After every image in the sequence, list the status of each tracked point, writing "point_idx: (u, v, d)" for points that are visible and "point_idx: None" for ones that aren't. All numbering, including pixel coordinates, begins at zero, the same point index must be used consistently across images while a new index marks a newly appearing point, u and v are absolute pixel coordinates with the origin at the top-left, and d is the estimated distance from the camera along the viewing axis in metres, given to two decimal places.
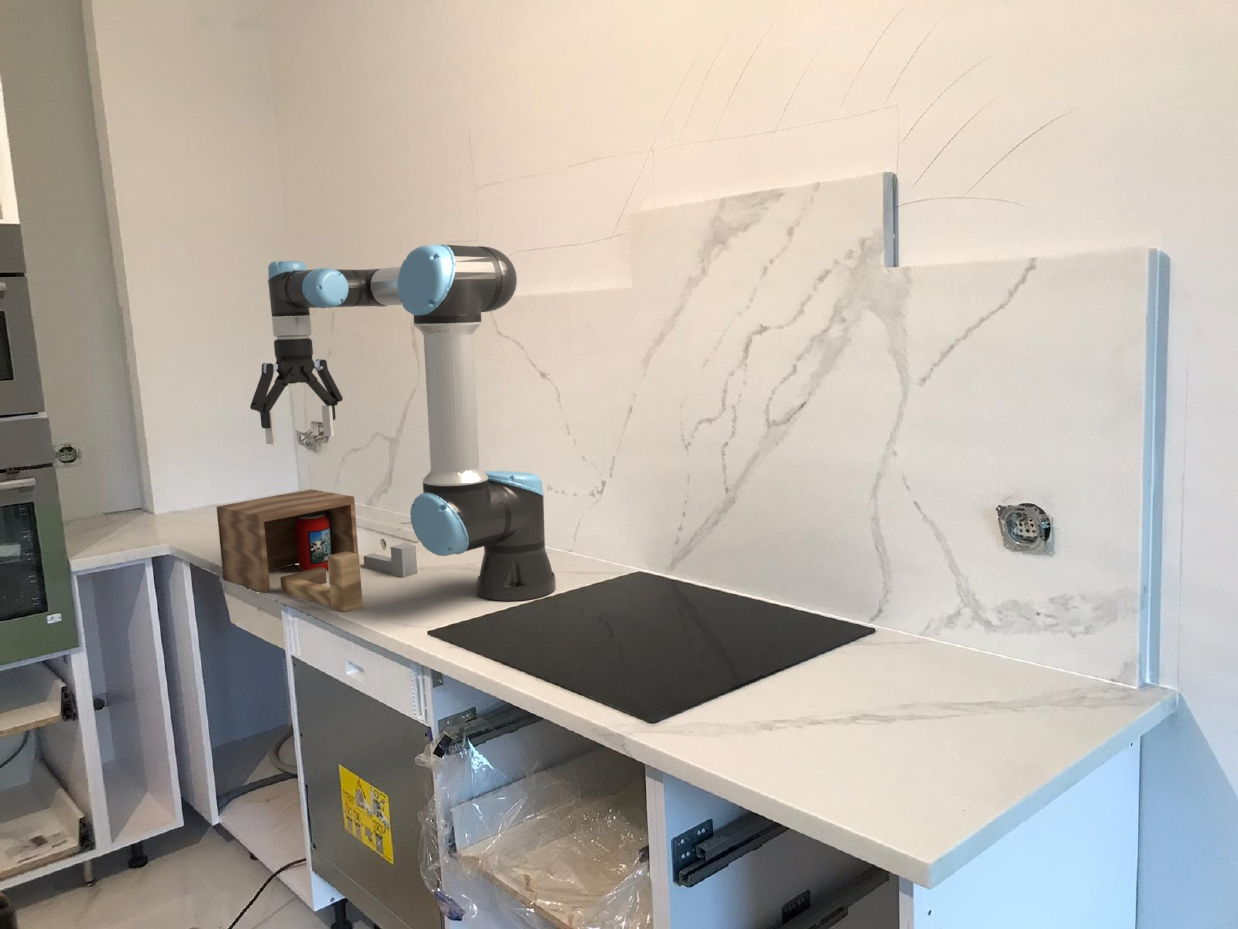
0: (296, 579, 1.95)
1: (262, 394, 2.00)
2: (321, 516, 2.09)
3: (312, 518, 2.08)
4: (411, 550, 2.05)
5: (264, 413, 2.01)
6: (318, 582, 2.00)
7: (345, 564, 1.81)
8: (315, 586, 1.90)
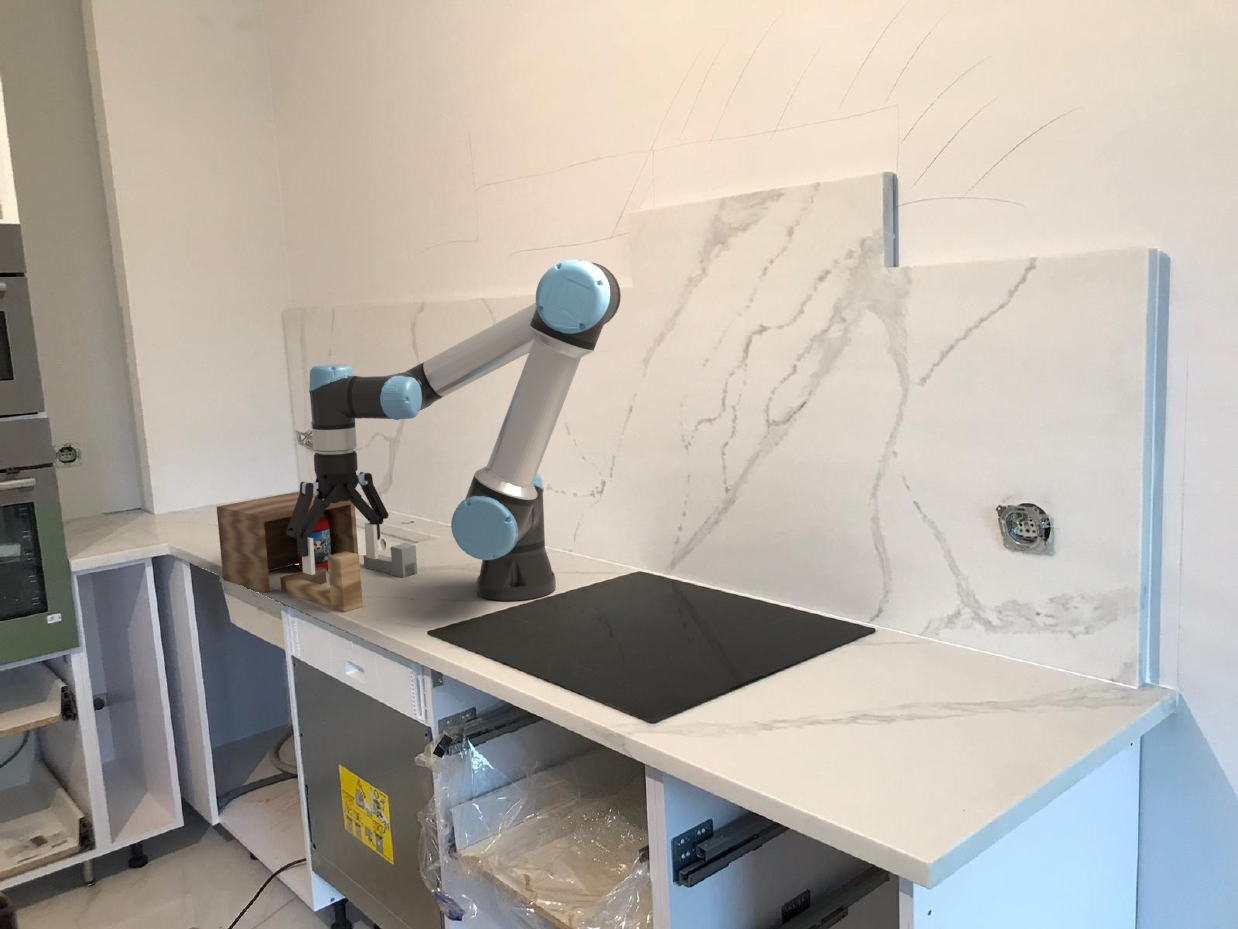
0: (296, 579, 1.95)
1: (300, 519, 1.74)
2: (321, 516, 2.09)
3: None
4: (412, 549, 2.05)
5: (302, 540, 1.75)
6: (318, 582, 2.00)
7: (345, 564, 1.81)
8: (315, 586, 1.90)
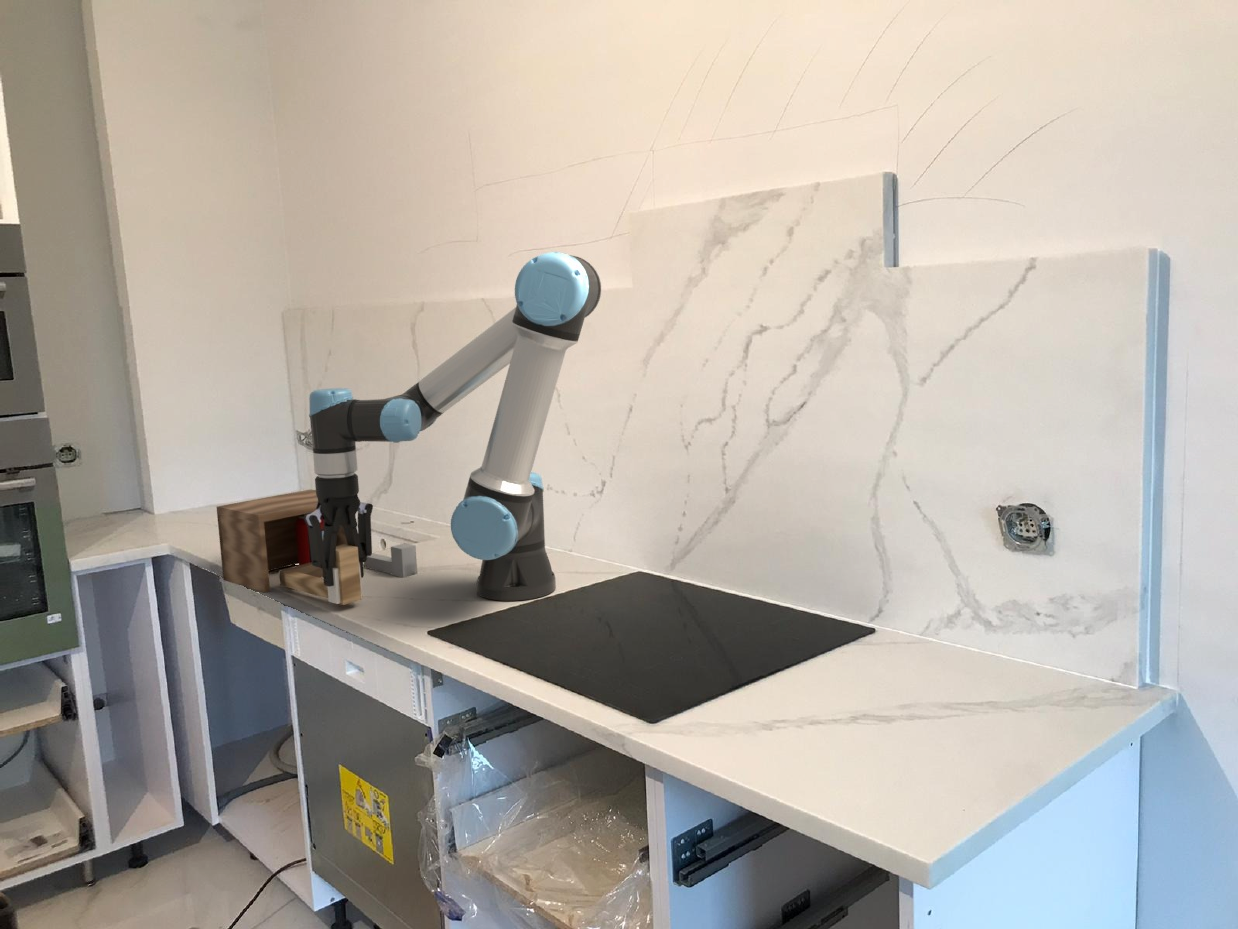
0: (295, 572, 1.95)
1: (319, 550, 1.78)
2: None
3: None
4: (412, 549, 2.05)
5: (327, 570, 1.80)
6: (317, 575, 2.00)
7: (344, 557, 1.81)
8: (314, 579, 1.90)
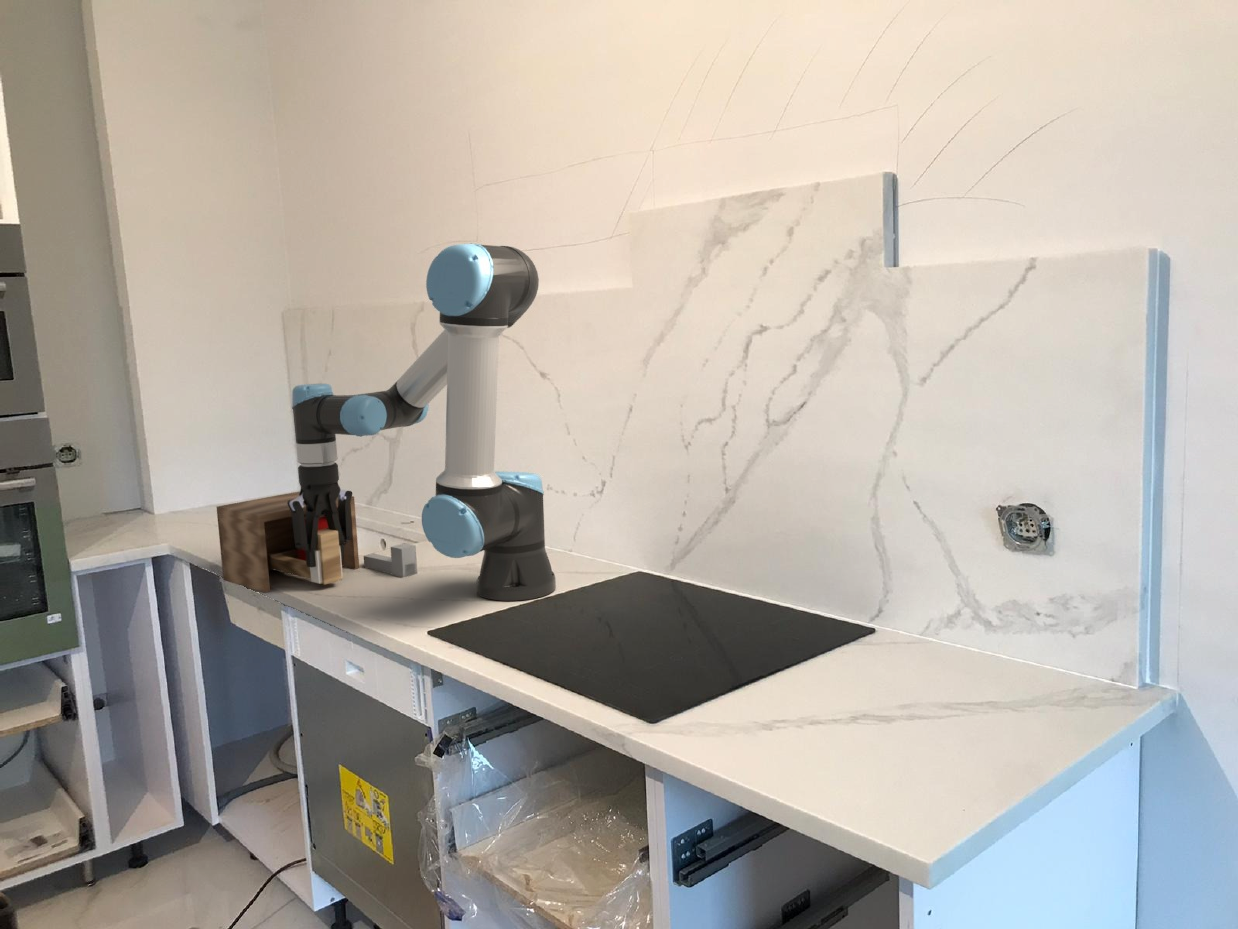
0: (280, 556, 2.10)
1: (302, 534, 1.92)
2: (321, 516, 2.09)
3: None
4: (411, 550, 2.05)
5: (310, 552, 1.94)
6: None
7: (325, 540, 1.95)
8: (298, 561, 2.04)
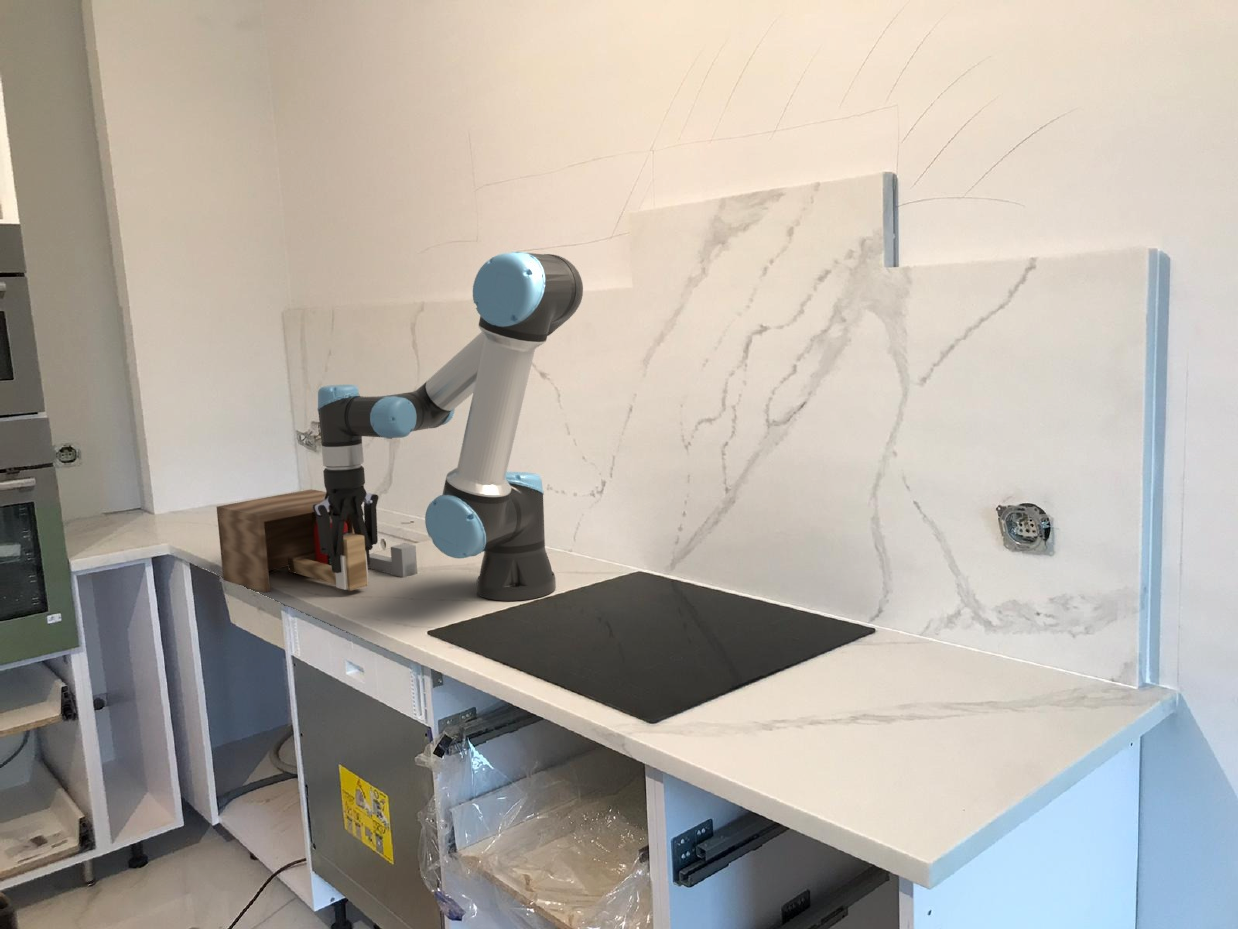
0: (303, 559, 2.05)
1: (327, 539, 1.87)
2: None
3: (330, 522, 2.03)
4: (411, 550, 2.05)
5: (335, 557, 1.90)
6: None
7: (351, 545, 1.90)
8: (322, 566, 1.99)
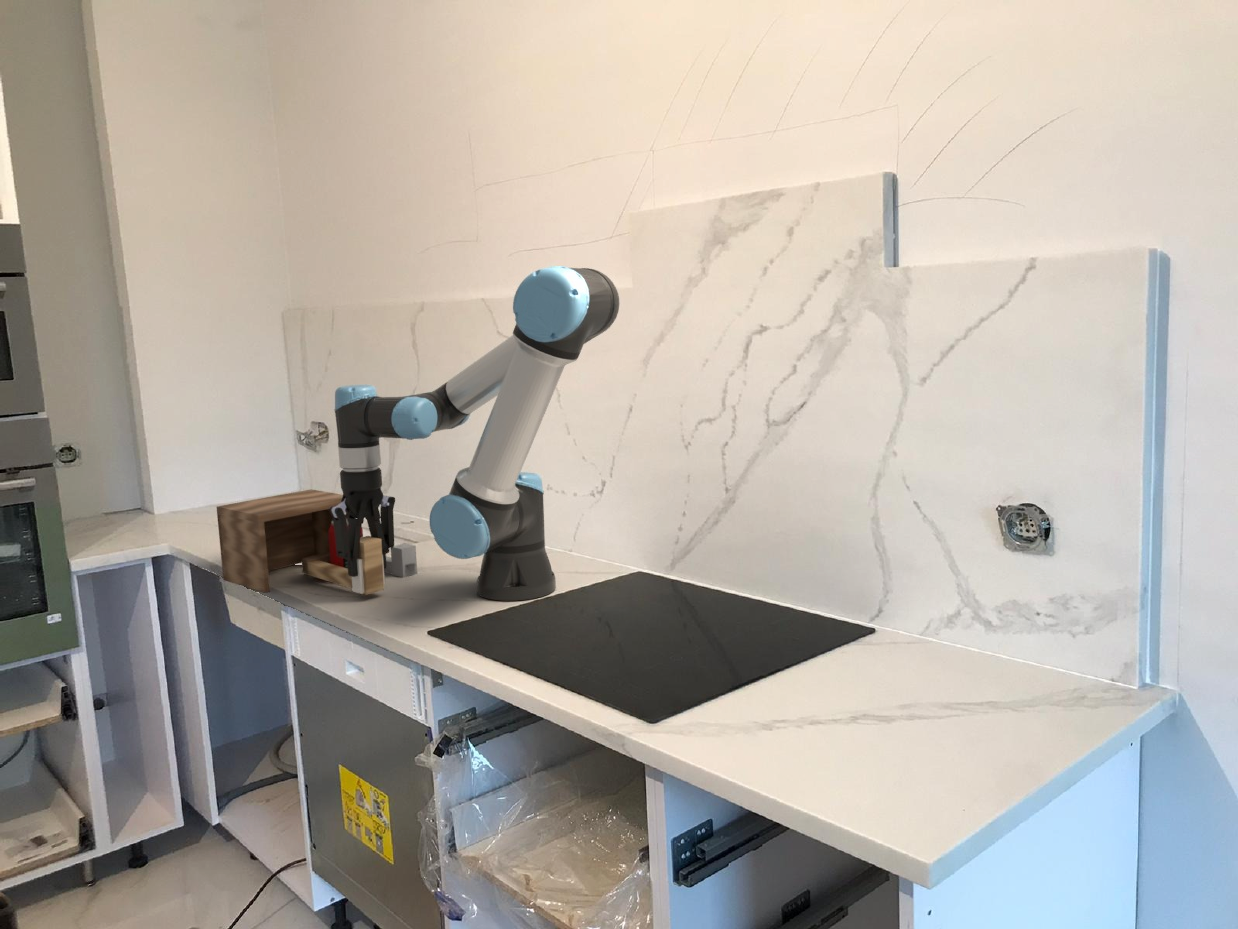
0: (317, 561, 2.01)
1: (344, 542, 1.84)
2: None
3: None
4: (411, 549, 2.05)
5: (352, 561, 1.86)
6: None
7: (368, 548, 1.87)
8: (337, 568, 1.96)
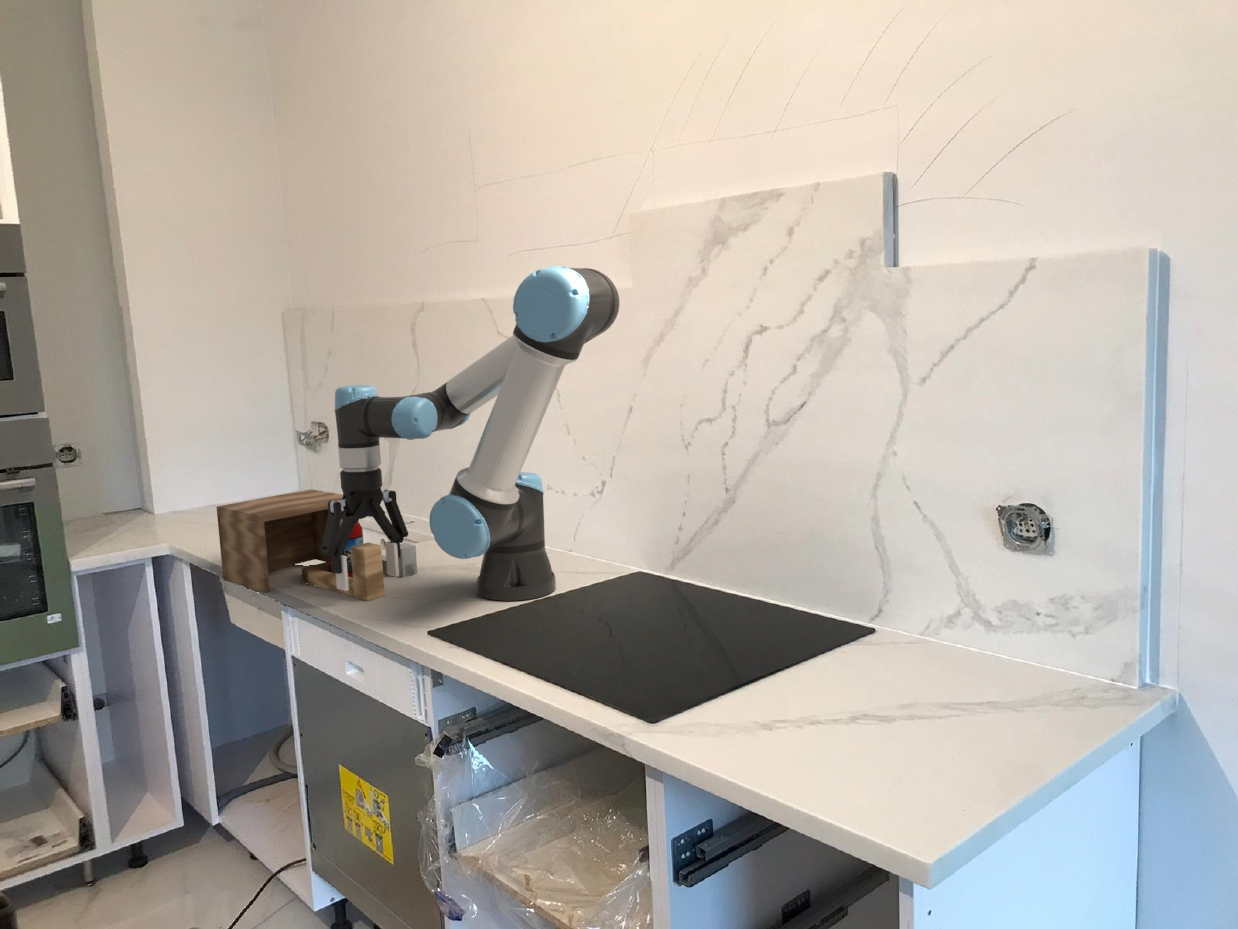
0: (317, 570, 2.02)
1: (332, 537, 1.82)
2: None
3: None
4: (412, 549, 2.05)
5: (336, 557, 1.83)
6: None
7: (368, 555, 1.88)
8: None
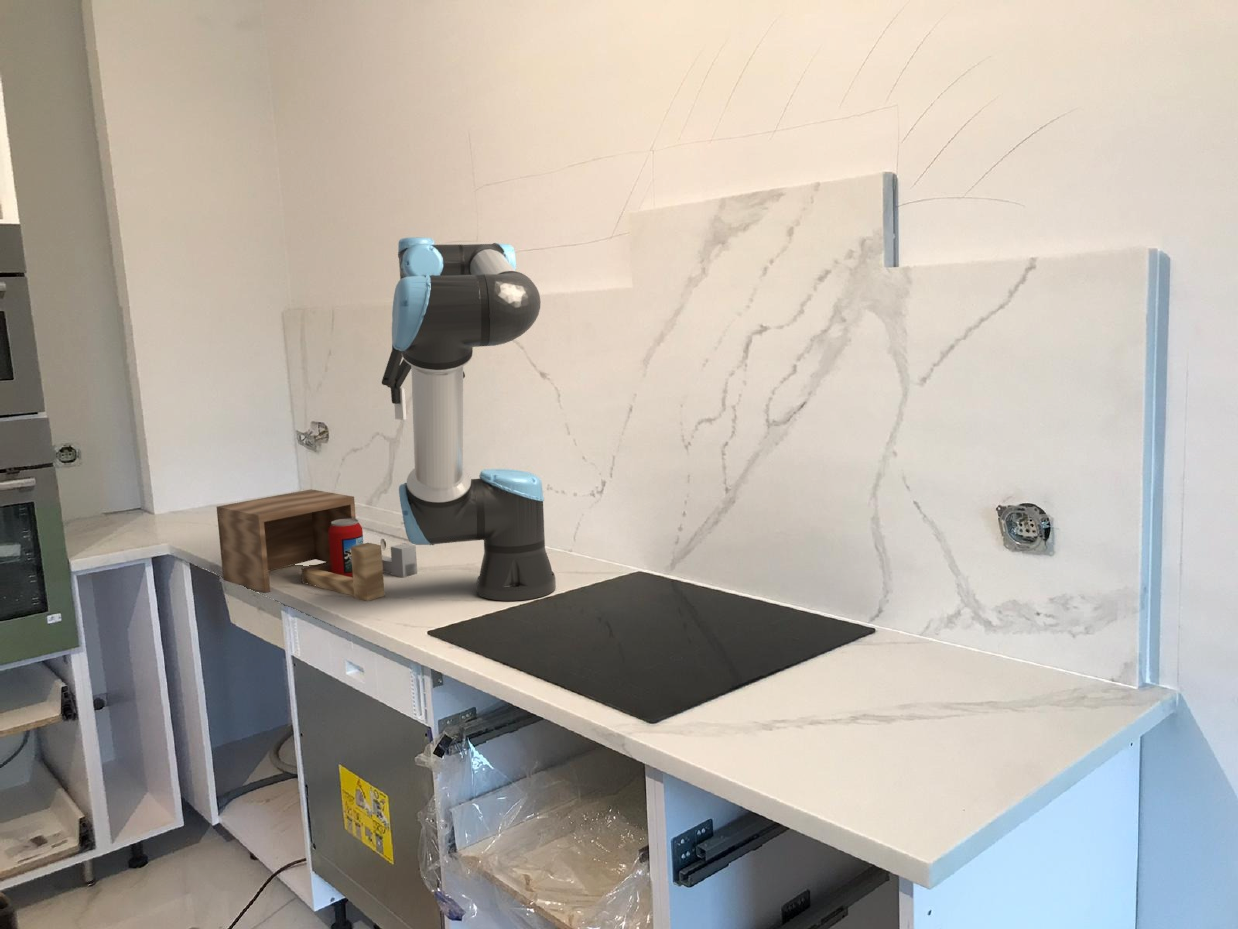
0: (317, 570, 2.02)
1: (394, 369, 2.01)
2: (355, 523, 2.01)
3: (346, 525, 2.00)
4: (412, 549, 2.05)
5: (395, 388, 2.03)
6: None
7: (368, 555, 1.88)
8: (337, 577, 1.96)
